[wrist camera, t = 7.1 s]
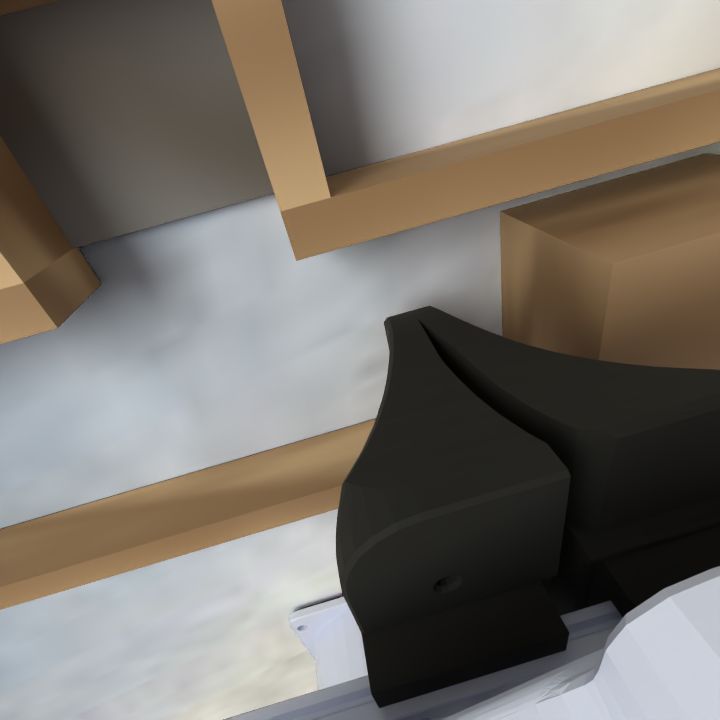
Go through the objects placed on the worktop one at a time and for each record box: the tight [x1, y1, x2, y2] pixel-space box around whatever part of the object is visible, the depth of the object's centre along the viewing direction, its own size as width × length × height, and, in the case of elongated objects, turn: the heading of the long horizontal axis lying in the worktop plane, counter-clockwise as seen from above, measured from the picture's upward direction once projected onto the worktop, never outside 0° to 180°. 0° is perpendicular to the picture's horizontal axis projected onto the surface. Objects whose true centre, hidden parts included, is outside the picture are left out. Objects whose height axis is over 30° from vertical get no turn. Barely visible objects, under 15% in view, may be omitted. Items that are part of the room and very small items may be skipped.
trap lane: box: [0, 0, 720, 610], centre depth 11 cm, size 18×27×2 cm
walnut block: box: [500, 154, 720, 370], centre depth 11 cm, size 5×6×4 cm
